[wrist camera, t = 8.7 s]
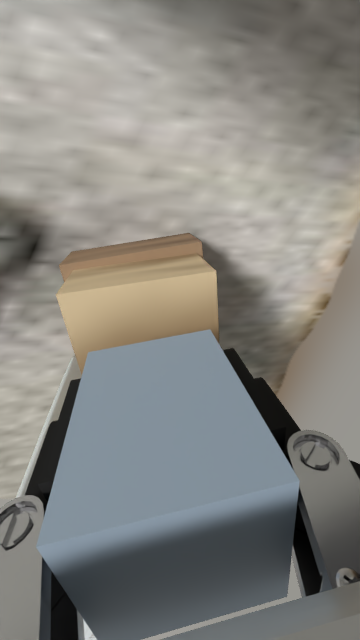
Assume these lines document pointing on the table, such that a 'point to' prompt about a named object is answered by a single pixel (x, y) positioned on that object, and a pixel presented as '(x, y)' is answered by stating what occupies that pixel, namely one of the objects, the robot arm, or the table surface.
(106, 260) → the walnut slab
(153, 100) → the table surface
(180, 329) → the oak slab
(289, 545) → the blue block
